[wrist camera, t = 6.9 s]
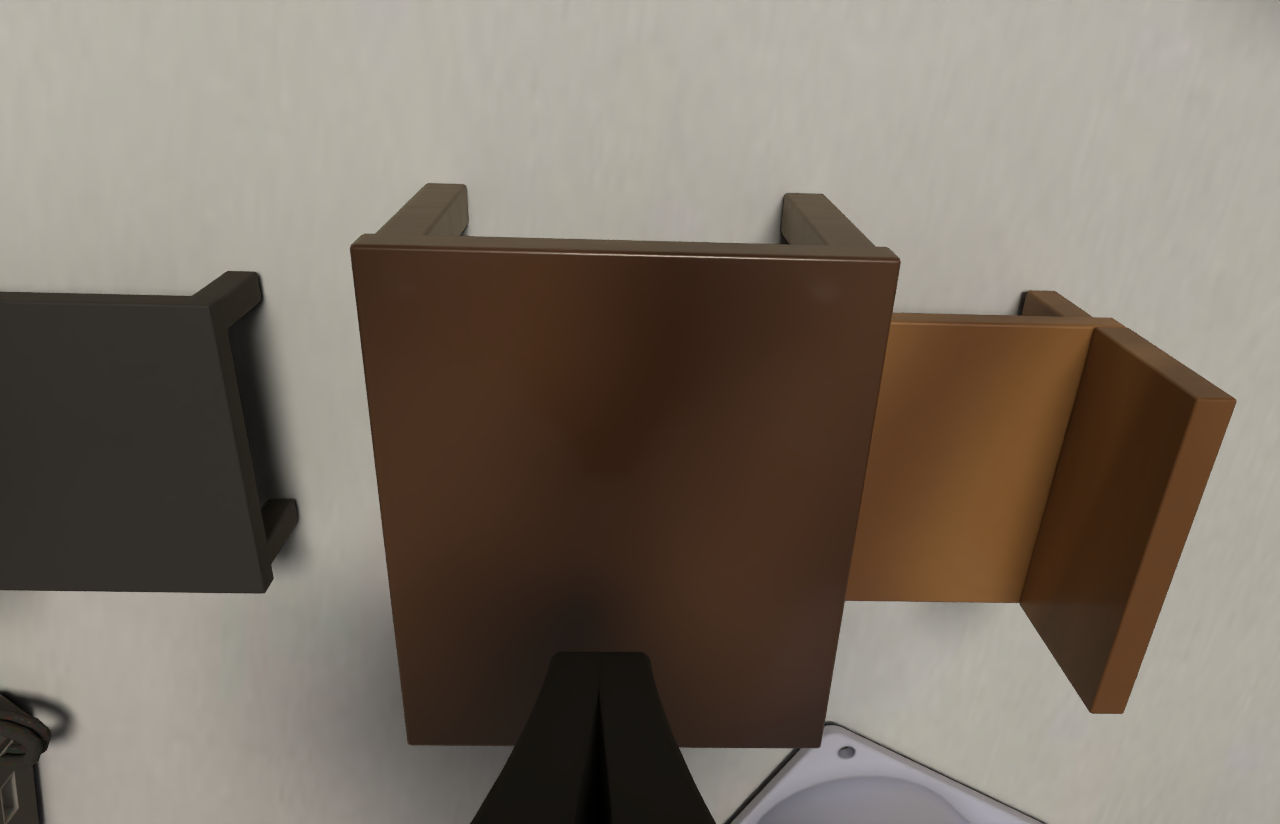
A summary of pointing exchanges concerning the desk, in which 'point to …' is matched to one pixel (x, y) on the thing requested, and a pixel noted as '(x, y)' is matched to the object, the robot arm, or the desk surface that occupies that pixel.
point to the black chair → (130, 445)
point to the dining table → (620, 462)
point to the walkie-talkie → (19, 763)
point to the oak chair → (1037, 478)
